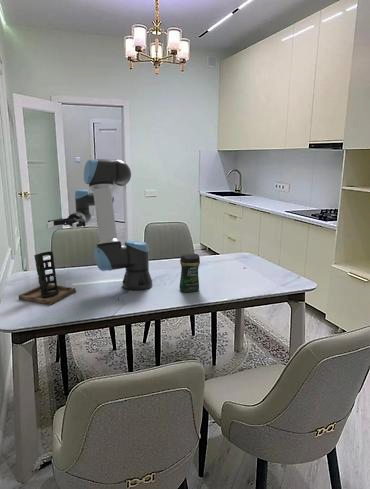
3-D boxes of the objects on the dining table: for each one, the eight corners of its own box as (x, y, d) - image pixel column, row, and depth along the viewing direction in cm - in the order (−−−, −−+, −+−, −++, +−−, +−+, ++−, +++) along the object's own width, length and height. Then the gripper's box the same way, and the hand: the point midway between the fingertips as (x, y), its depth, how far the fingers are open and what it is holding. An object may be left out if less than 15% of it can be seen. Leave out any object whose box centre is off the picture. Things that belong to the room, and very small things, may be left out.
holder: (50, 298, 169) (43, 256, 165) (35, 299, 170) (28, 256, 166) (62, 290, 179) (56, 250, 176) (48, 291, 181) (41, 251, 177)
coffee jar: (182, 293, 180) (182, 256, 176) (177, 288, 187) (178, 252, 183) (201, 291, 183) (202, 255, 179) (196, 286, 190) (196, 251, 186)
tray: (75, 292, 180) (75, 288, 180) (50, 305, 164) (50, 301, 163) (46, 287, 186) (45, 283, 186) (18, 299, 170) (18, 295, 170)
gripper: (98, 226, 207) (84, 234, 186) (55, 225, 209) (37, 232, 188) (97, 213, 205) (83, 219, 184) (54, 212, 207) (35, 218, 187)
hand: (60, 226), depth 186 cm, fingers open, 13 cm apart
